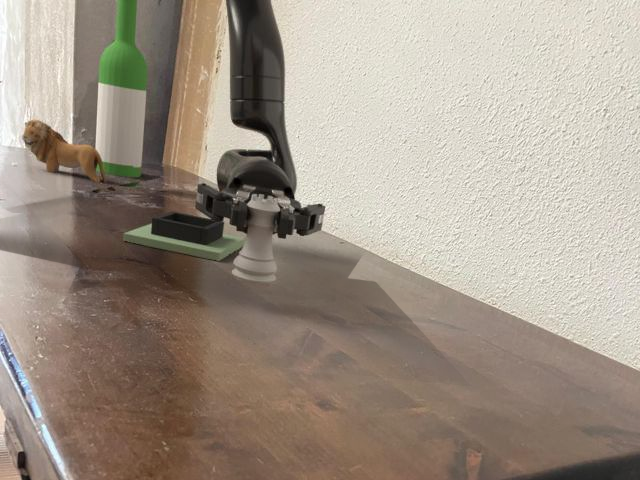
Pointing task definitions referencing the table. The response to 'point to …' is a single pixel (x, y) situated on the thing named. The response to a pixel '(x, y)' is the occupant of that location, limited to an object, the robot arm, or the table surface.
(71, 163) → the lion figurine
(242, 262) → the rook chess piece
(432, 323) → the table surface
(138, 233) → the socket pad
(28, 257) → the table surface
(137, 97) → the wine bottle
